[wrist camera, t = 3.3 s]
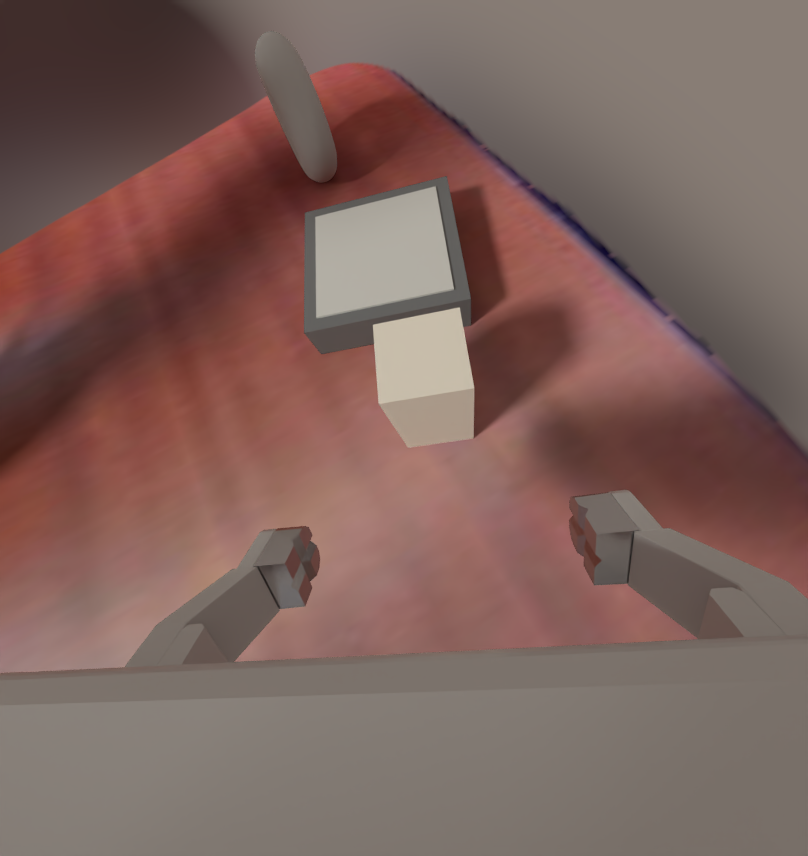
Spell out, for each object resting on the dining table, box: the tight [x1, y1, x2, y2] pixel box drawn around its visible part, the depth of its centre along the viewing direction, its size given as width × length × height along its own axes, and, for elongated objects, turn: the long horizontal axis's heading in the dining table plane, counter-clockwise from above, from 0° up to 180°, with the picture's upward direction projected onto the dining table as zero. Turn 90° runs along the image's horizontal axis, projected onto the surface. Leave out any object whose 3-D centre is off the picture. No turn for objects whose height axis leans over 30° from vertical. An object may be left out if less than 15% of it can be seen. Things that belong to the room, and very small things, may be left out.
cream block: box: [373, 307, 474, 448], centre depth 20 cm, size 4×4×8 cm
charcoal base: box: [304, 176, 471, 354], centre depth 27 cm, size 12×12×3 cm
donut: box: [255, 31, 337, 183], centre depth 30 cm, size 10×3×10 cm, turn 25°
